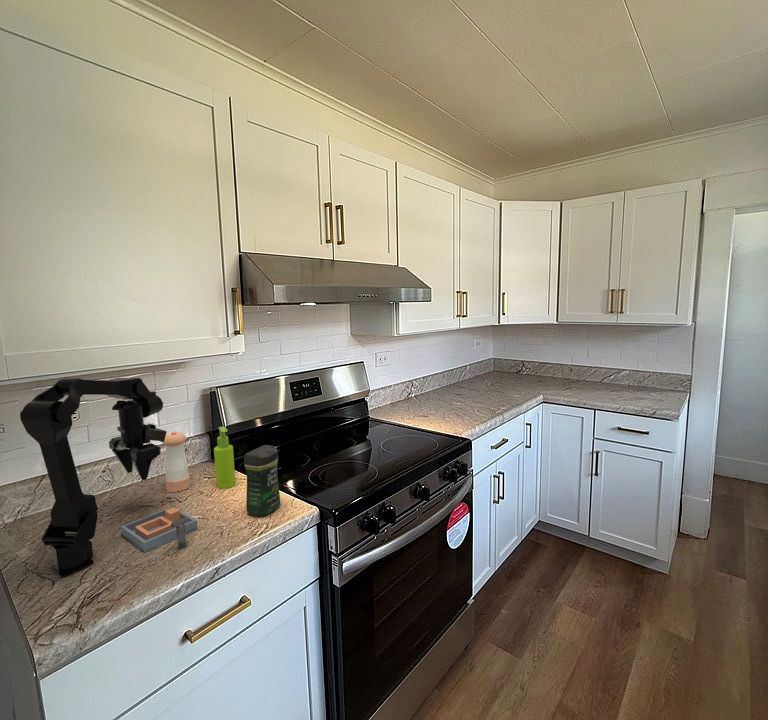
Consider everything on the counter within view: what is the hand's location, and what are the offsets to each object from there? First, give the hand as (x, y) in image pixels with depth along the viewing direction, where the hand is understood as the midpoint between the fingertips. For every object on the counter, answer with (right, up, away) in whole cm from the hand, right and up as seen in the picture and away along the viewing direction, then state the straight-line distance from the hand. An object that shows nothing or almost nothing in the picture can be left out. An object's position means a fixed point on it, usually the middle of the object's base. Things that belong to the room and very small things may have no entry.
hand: (137, 476), depth 119 cm
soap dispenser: (+17, -9, +21) cm, 29 cm away
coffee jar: (+35, -11, +4) cm, 37 cm away
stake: (+20, -14, -14) cm, 28 cm away
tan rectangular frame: (+10, -12, -7) cm, 18 cm away
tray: (+10, -13, -7) cm, 18 cm away
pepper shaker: (+2, -10, +20) cm, 23 cm away
